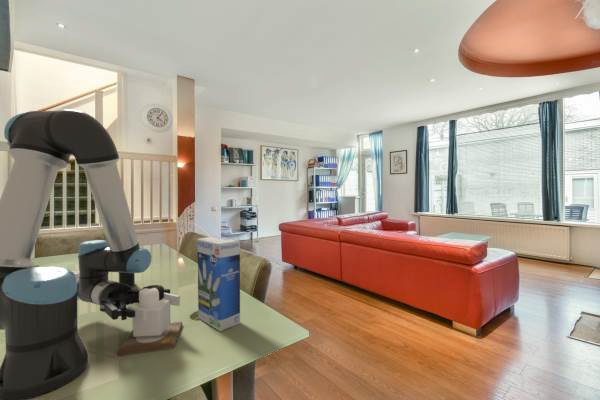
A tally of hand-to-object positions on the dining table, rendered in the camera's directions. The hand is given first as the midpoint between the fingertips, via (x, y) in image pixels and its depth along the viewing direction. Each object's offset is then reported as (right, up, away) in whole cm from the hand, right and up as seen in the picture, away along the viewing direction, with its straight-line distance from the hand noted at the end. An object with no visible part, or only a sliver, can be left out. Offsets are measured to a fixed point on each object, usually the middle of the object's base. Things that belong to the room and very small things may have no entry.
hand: (162, 307), depth 75 cm
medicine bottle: (-4, -7, +2) cm, 8 cm away
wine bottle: (-39, -9, +46) cm, 61 cm away
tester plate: (-4, -9, +2) cm, 10 cm away
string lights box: (+12, -9, +13) cm, 20 cm away
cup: (-57, -9, +39) cm, 70 cm away
